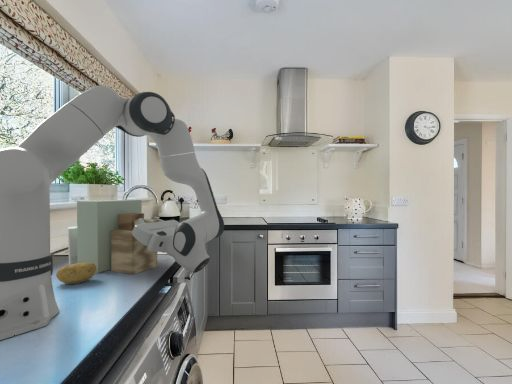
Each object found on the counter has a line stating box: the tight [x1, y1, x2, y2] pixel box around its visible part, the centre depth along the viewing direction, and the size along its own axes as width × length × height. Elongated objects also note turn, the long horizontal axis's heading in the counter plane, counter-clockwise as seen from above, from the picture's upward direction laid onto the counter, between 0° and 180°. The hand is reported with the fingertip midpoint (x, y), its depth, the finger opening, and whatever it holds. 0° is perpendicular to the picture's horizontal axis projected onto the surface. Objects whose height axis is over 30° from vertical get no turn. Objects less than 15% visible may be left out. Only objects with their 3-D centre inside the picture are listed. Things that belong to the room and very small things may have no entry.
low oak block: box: [110, 230, 159, 275], centre depth 109 cm, size 12×11×15 cm
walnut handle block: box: [118, 212, 159, 231], centre depth 107 cm, size 6×16×6 cm, turn 64°
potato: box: [55, 262, 97, 285], centre depth 92 cm, size 7×11×6 cm, turn 114°
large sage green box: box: [76, 199, 143, 274], centre depth 114 cm, size 20×12×26 cm, turn 154°
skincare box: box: [67, 225, 77, 265], centre depth 115 cm, size 8×7×16 cm
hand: (146, 218), depth 106 cm, fingers open, 5 cm apart
